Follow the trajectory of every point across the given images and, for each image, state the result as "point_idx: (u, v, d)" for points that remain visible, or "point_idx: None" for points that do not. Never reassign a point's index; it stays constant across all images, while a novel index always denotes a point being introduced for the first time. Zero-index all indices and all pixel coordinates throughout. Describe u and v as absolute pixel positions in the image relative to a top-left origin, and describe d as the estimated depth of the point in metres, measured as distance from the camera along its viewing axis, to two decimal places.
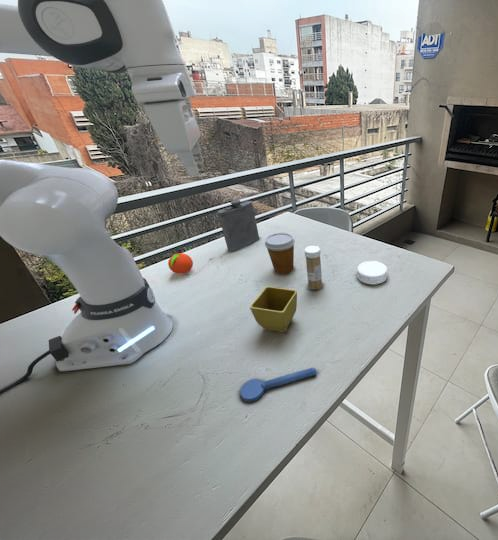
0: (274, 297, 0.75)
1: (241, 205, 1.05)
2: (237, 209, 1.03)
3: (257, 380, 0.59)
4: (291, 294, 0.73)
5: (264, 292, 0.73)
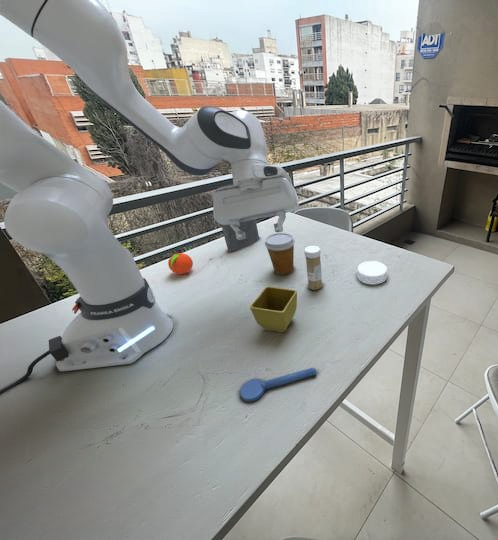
0: (274, 297, 0.75)
1: None
2: None
3: (257, 380, 0.59)
4: (291, 294, 0.73)
5: (264, 292, 0.73)
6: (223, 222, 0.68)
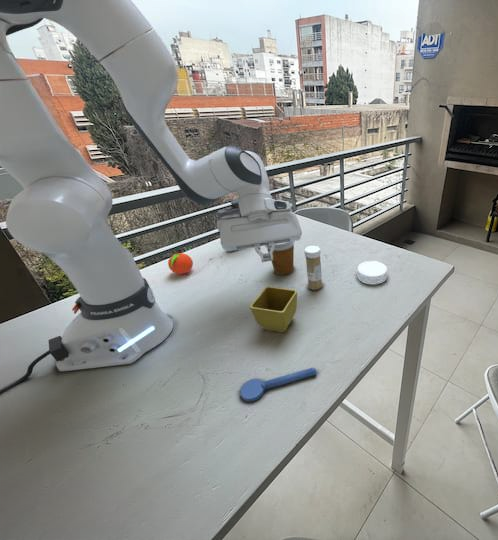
0: (274, 297, 0.75)
1: None
2: (237, 209, 1.03)
3: (257, 380, 0.59)
4: (291, 294, 0.73)
5: (264, 292, 0.73)
6: (229, 248, 0.71)
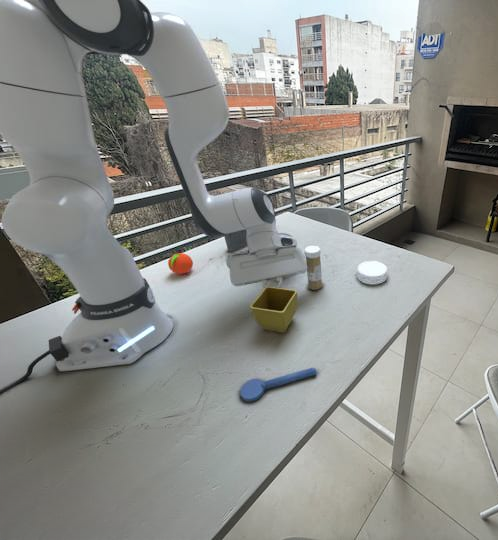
0: (274, 297, 0.75)
1: None
2: None
3: (257, 380, 0.59)
4: (291, 294, 0.73)
5: (264, 292, 0.73)
6: (239, 284, 0.74)
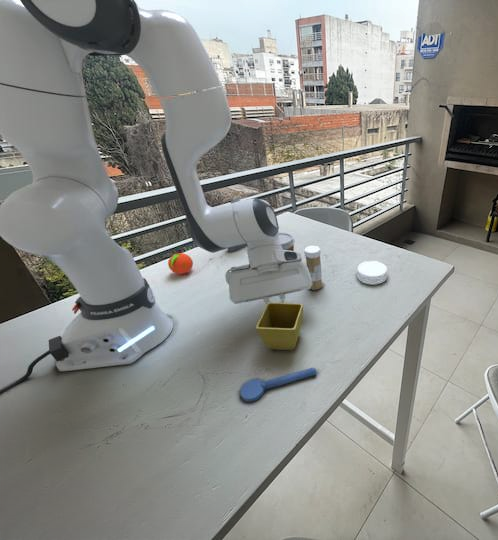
0: (277, 313, 0.70)
1: None
2: None
3: (257, 380, 0.59)
4: (296, 308, 0.69)
5: (267, 309, 0.67)
6: (239, 302, 0.69)
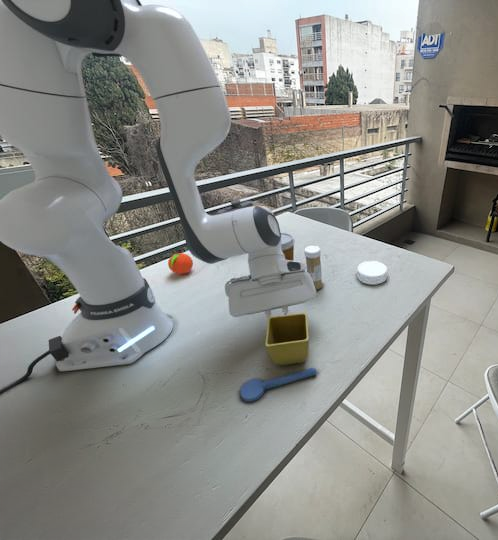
0: (279, 327, 0.66)
1: (241, 205, 1.05)
2: None
3: (257, 380, 0.59)
4: (299, 318, 0.66)
5: (269, 324, 0.63)
6: (239, 316, 0.65)
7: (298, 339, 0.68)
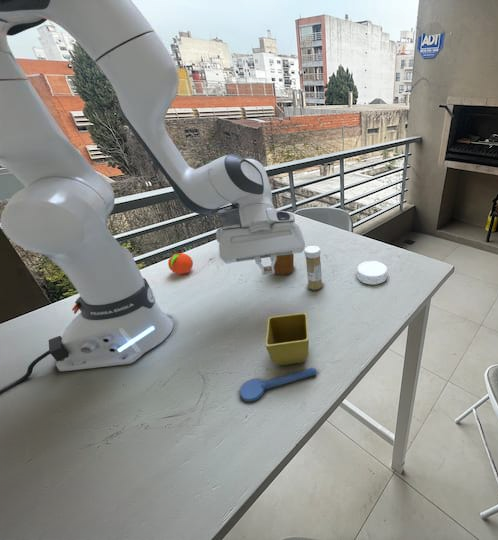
0: (279, 327, 0.66)
1: None
2: (237, 209, 1.03)
3: (257, 380, 0.59)
4: (299, 318, 0.66)
5: (269, 324, 0.63)
6: (229, 260, 0.68)
7: (298, 339, 0.68)
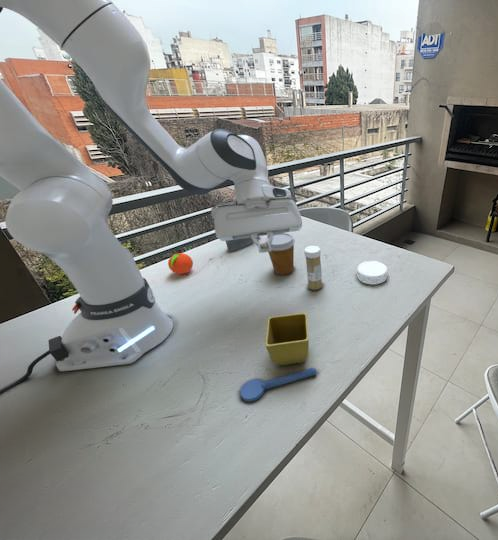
0: (279, 327, 0.66)
1: None
2: None
3: (257, 380, 0.59)
4: (299, 318, 0.66)
5: (269, 324, 0.63)
6: (225, 237, 0.66)
7: (298, 339, 0.68)
